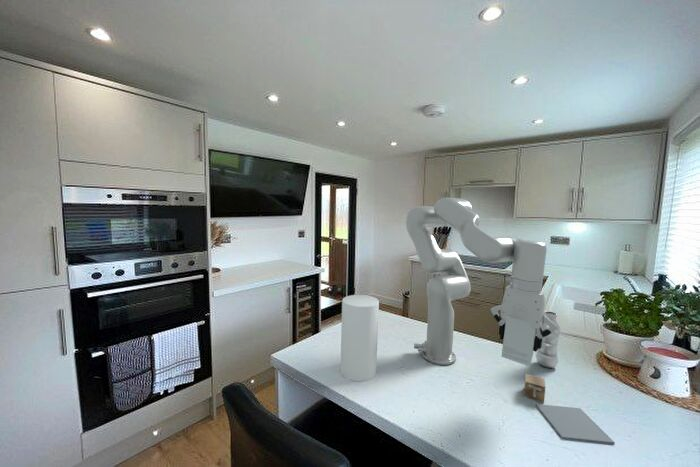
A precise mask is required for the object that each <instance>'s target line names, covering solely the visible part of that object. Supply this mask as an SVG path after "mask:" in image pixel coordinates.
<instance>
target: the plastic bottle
mask: <svg viewBox="0 0 700 467" xmlns="http://www.w3.org/2000/svg"><path fill="white" fill-rule="evenodd" d="M545 315H546V316H547V317H548V318H549V319H550V320H551V321H553V322H554V323H555V324H556V325H557V326H558V328H557V329H556V330H555V331H554V332H552V333H551V334H550V335H548V336H545V337H543V339H542V347H541V349H538V350H537V351H536V354H535V359H536V362H537V363H538V364H539V365H540V366H543V367H545V368H551V369H553V368H555V367H556V368H557V366H558V363H559V357H558V342H559V338H560V333H561V326H560V324H559V323H558V321H557V320H558V314H557V313H556V312H553V311H549V310H548V311H546V310H545ZM541 327H542V329H543V331H544V330H546V329H548V328H549V326H548V325H547V324H546V323H545V322H544V324H543V325H542V326H541Z"/></svg>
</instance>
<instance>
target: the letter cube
mask: <svg viewBox="0 0 700 467" xmlns="http://www.w3.org/2000/svg"><path fill="white" fill-rule="evenodd" d="M524 380H525V381H524V388H523V389H524V394H523V396H524V398H527V399H531V400H534V401H537V402H538V403H539V402H540V403H545V396H546V380H545V378H544V377H543V378H542V377H539V376H536V375H533V374H528V373H525V378H524Z"/></svg>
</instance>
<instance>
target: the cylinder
mask: <svg viewBox="0 0 700 467" xmlns="http://www.w3.org/2000/svg"><path fill="white" fill-rule="evenodd" d="M379 308H380V300H379V299H378V298H376V297H374V296H370V295H367V294H366V295H365V294H350V295H347V296H344V297H343V298H342V300H341V329H340V331H341V332H340V333H341V335H340V336H341V337H340V364H339V365H340V367H339V368H340V369H339V370H340V373H341V375H342V376H343V377H344V378H345V379H348V380H350V381H353V382H354V381H355V382H365V381H369V380H371V379H373V378H374V377H375V376H376V374H377V364H378V363H377V362H378V361H377V359H378V336H379V334H378V333H379V311H380V310H379Z"/></svg>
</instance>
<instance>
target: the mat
mask: <svg viewBox="0 0 700 467" xmlns="http://www.w3.org/2000/svg"><path fill="white" fill-rule="evenodd" d="M535 407H536V408H537V409H538V410H539V411H540V413H541V414H542V415H543V417H544V418H545V419H546V421H547V422H548V423H549V424H550V426H552V428H553V429H554V430H555V432H556V433H557V435H559V437H560V438H561V439H562V440H571V441H572V440H573V441H579V442H580V441H581V442H590V443H591V442H592V443H598V444H609V445H615V441H614V440H613V439H612V438H611V437H610V436H609V435H608V434H607V433H606V432H605V431H604V430H603V429H602V428H601V427H600V426H599V425H597V424H596V423H597V422H595V421H593V419H592V418H591V417H590V416H588V414H587V413H586V412H585V411H584V410H582V408H580V407H573V406H572V407H571V406H559V405H552V404H551V405H550V404H539V403H536V404H535Z"/></svg>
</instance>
